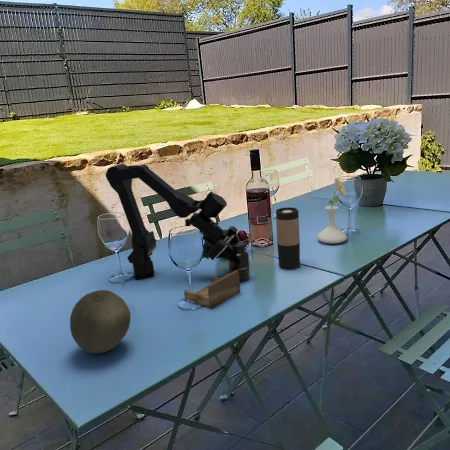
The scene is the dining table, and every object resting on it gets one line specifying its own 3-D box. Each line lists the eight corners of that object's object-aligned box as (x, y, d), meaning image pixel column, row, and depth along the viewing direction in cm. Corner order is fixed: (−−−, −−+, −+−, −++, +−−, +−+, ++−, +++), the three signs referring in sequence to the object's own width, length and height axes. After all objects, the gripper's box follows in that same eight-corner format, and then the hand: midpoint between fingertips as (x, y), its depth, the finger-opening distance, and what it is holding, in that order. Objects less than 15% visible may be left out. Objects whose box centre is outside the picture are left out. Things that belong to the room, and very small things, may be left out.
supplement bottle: (243, 283, 138) (241, 248, 134) (225, 280, 141) (222, 246, 138) (253, 276, 143) (251, 241, 140) (236, 273, 147) (233, 239, 143)
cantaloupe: (78, 372, 98) (66, 313, 94) (73, 343, 110) (62, 290, 106) (139, 354, 103) (131, 297, 99) (128, 328, 116) (120, 277, 111)
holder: (185, 300, 130) (182, 278, 128) (213, 284, 139) (211, 264, 137) (212, 308, 123) (210, 286, 121) (240, 291, 132) (238, 270, 130)
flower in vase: (335, 248, 162) (335, 182, 156) (311, 242, 171) (309, 180, 164) (355, 239, 171) (355, 176, 164) (331, 234, 179) (330, 174, 172)
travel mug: (273, 267, 149) (270, 211, 144) (286, 260, 154) (284, 206, 149) (292, 271, 144) (289, 214, 138) (304, 264, 149) (303, 208, 144)
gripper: (201, 235, 152) (233, 264, 152) (182, 253, 134) (219, 287, 135) (220, 213, 147) (254, 243, 147) (204, 229, 130) (242, 264, 130)
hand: (242, 259), depth 140 cm, fingers closed on supplement bottle, 7 cm apart
